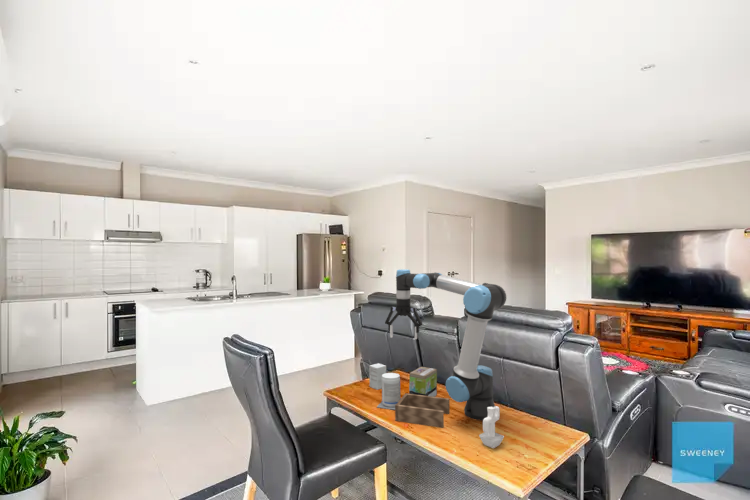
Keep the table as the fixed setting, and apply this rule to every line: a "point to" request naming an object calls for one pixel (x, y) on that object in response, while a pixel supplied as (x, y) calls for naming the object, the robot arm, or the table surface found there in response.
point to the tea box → (423, 382)
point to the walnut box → (422, 410)
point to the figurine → (491, 428)
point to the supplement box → (376, 375)
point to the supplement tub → (390, 389)
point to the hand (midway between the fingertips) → (403, 338)
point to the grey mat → (385, 407)
